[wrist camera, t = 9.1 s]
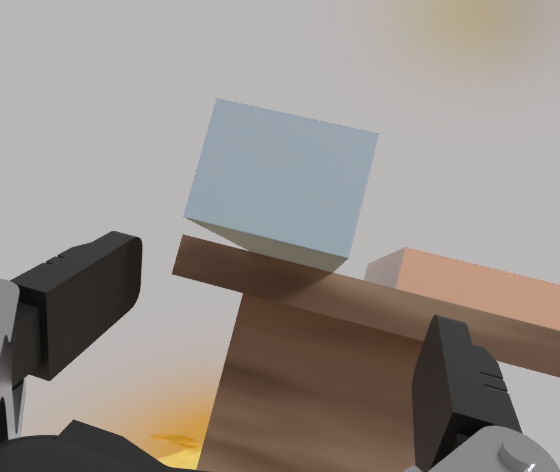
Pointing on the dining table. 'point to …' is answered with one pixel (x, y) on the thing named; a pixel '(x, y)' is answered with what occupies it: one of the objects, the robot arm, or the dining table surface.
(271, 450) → the stand
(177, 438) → the dining table surface
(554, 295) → the base tile
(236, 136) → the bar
